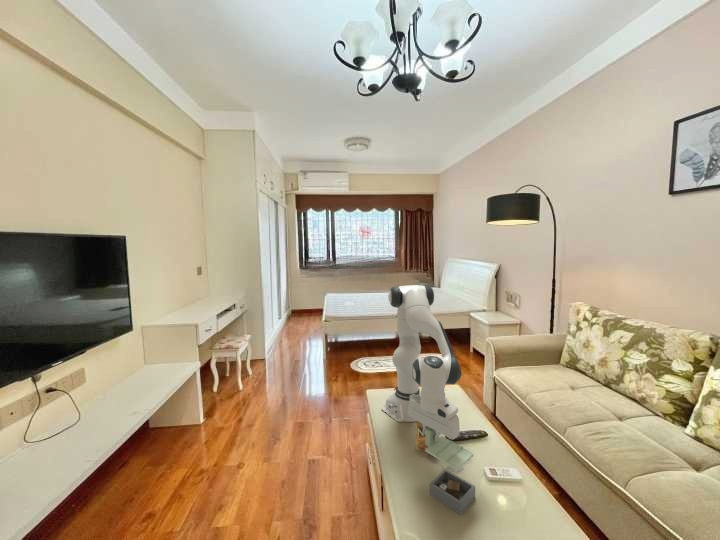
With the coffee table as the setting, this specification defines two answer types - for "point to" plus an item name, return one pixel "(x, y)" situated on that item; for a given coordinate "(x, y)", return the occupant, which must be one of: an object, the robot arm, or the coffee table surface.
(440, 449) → the lid
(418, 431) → the candy box
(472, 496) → the tub
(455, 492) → the walnut part
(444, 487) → the metal part
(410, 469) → the coffee table surface
